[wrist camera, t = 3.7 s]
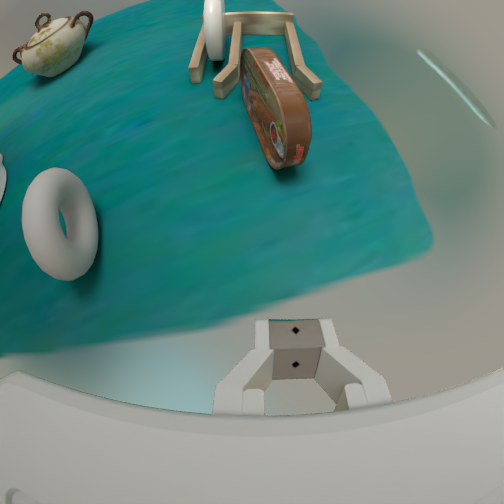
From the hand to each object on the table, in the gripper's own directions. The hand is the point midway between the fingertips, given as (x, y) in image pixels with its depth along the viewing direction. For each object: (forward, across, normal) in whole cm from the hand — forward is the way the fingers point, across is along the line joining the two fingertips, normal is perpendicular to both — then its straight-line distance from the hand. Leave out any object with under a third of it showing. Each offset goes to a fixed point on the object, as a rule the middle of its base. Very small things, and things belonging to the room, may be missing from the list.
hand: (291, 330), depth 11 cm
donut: (+14, +18, +3) cm, 23 cm away
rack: (+34, +2, -17) cm, 38 cm away
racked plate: (+34, +7, -18) cm, 40 cm away
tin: (+23, 0, -6) cm, 24 cm away
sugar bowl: (+42, +41, -26) cm, 64 cm away
